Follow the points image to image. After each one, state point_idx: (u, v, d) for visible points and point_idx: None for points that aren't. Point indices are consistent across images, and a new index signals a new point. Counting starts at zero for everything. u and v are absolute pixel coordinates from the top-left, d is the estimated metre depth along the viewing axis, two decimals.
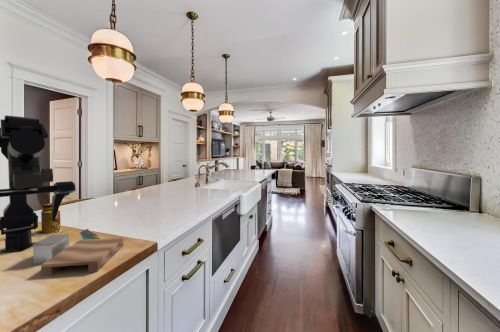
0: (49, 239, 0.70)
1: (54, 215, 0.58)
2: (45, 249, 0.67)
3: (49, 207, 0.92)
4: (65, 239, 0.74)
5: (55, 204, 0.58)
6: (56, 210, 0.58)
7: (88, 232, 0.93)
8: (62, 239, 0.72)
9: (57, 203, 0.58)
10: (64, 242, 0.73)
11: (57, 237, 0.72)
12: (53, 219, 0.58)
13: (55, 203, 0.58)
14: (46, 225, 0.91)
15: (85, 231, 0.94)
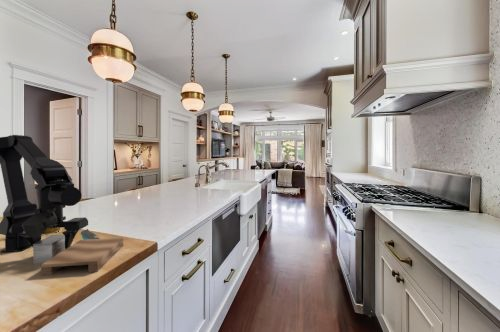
0: (49, 239, 0.70)
1: (66, 246, 0.71)
2: (45, 249, 0.67)
3: None
4: None
5: (65, 238, 0.70)
6: (67, 243, 0.71)
7: (88, 232, 0.93)
8: (62, 239, 0.72)
9: (67, 238, 0.70)
10: (64, 242, 0.73)
11: (57, 237, 0.72)
12: None
13: (65, 238, 0.70)
14: None
15: (85, 231, 0.94)
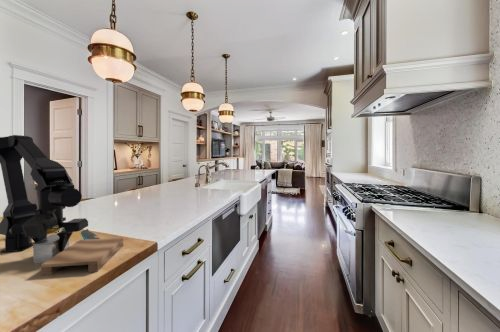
0: (49, 239, 0.70)
1: (60, 247, 0.71)
2: (45, 249, 0.67)
3: None
4: None
5: (60, 239, 0.70)
6: (61, 244, 0.71)
7: (88, 232, 0.93)
8: None
9: (61, 239, 0.70)
10: None
11: (57, 237, 0.72)
12: (60, 250, 0.71)
13: (60, 239, 0.70)
14: None
15: (85, 231, 0.94)
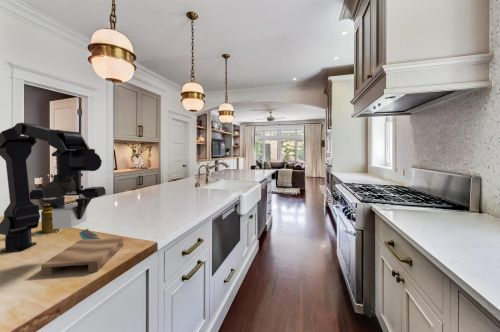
0: (67, 206, 0.69)
1: (78, 215, 0.70)
2: (64, 214, 0.66)
3: (49, 207, 0.92)
4: None
5: (78, 206, 0.69)
6: (80, 211, 0.69)
7: (88, 232, 0.93)
8: None
9: (80, 206, 0.69)
10: None
11: (75, 204, 0.71)
12: (78, 218, 0.70)
13: (78, 205, 0.69)
14: (46, 225, 0.91)
15: (85, 231, 0.94)
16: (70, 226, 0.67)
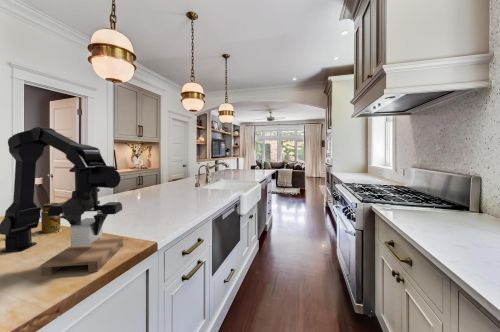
0: (84, 222, 0.69)
1: (96, 231, 0.69)
2: (82, 231, 0.66)
3: None
4: None
5: (96, 222, 0.69)
6: (97, 227, 0.69)
7: None
8: None
9: (97, 222, 0.69)
10: None
11: (92, 220, 0.71)
12: (95, 234, 0.70)
13: (96, 222, 0.69)
14: (46, 225, 0.91)
15: None
16: (88, 243, 0.66)
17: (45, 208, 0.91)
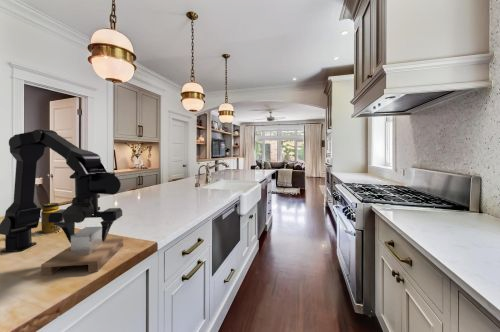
0: (85, 231, 0.69)
1: (103, 237, 0.70)
2: (83, 241, 0.66)
3: (49, 207, 0.92)
4: (100, 231, 0.73)
5: (103, 228, 0.69)
6: (104, 233, 0.70)
7: None
8: (97, 231, 0.71)
9: (104, 228, 0.69)
10: (99, 234, 0.72)
11: (92, 229, 0.71)
12: (102, 239, 0.70)
13: (102, 228, 0.69)
14: (46, 225, 0.91)
15: None
16: (88, 252, 0.67)
17: (45, 208, 0.91)
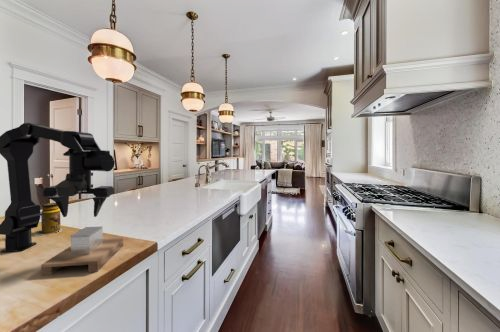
0: (85, 231, 0.69)
1: (94, 212, 0.73)
2: (83, 241, 0.66)
3: (49, 207, 0.92)
4: (100, 231, 0.73)
5: (94, 204, 0.73)
6: (96, 209, 0.73)
7: None
8: (97, 231, 0.71)
9: (96, 204, 0.73)
10: (99, 234, 0.72)
11: (92, 229, 0.71)
12: (94, 215, 0.74)
13: (94, 204, 0.73)
14: (46, 225, 0.91)
15: None
16: (88, 252, 0.67)
17: (45, 208, 0.91)
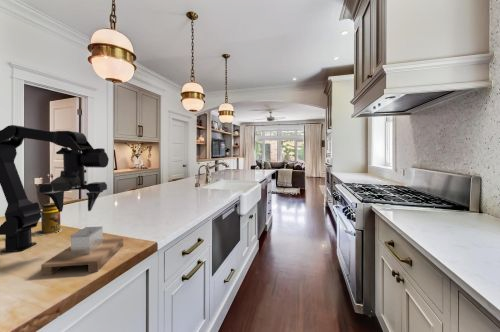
0: (85, 231, 0.69)
1: (88, 207, 0.78)
2: (83, 241, 0.66)
3: (49, 207, 0.92)
4: (100, 231, 0.73)
5: (88, 199, 0.77)
6: (89, 203, 0.78)
7: None
8: (97, 231, 0.71)
9: (90, 199, 0.77)
10: (99, 234, 0.72)
11: (92, 229, 0.71)
12: (88, 209, 0.78)
13: (88, 198, 0.77)
14: (46, 225, 0.91)
15: None
16: (88, 252, 0.67)
17: (45, 208, 0.91)
